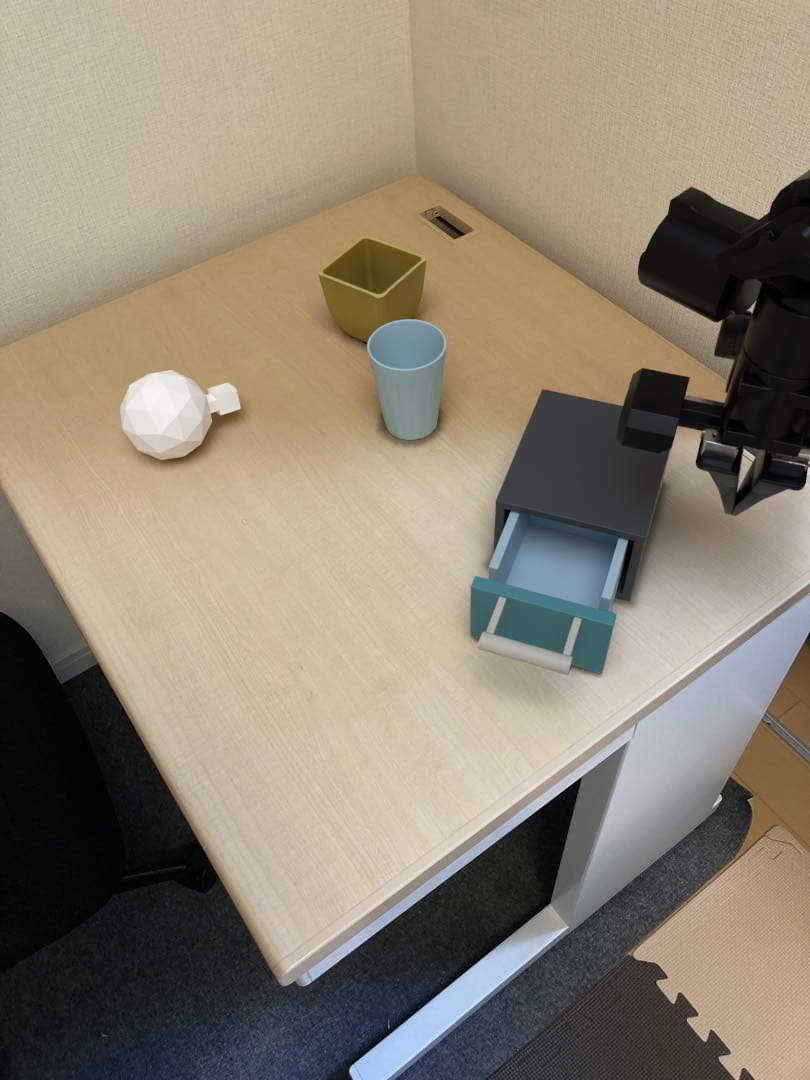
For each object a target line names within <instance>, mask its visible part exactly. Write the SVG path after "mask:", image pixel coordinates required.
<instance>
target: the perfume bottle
mask: <svg viewBox="0 0 810 1080" xmlns="http://www.w3.org/2000/svg"><path fill="white" fill-rule="evenodd" d="M237 389H238V388H237V387H235V386H234V385H232V384H231V383H229V382H224V383H221V384H217V385H215V386H212V387H208V388H207V392H208V393H207V394H205V393H204V391H203V390H202V389H201V387H200V386H199V385H198V383H197V382H196V381H195V380H194V379H193V378H189V377H188V376H187V375H183V374H181V373H179V372H177V371H176V370H173V369H169V370H161V371H157V372H150V373H147V374H146V375H143V376H142V377H140V378H139V379H136V381H134V382H132V383H130V384H129V386H128V387H127V391H126V393H125V396H124V397H123V400H122V402H121V404H120V406H119V413H120V419H121V427H122V430H123V432H124V433H125V435H126V436H127V437H128V439H129V440H130V442H131V443H132V444H133V446H134V447H135V448H136V450H137V451H139V452H141V453H144V454H145V455H148V456H150V457H153V458H155V459H157V460H159V461H163V460H170V459H177V458H182V457H183V458H184V457H187V455H189V454H190V453H191V452H193V451H194V450H196V449H197V448H198V447H199V446H201V445H202V443H203V441H204V440H205V437H206V435H207V433H208V431H209V430H210V428H211V425H212V423H213V419H212V418H213V417H212V414H213V413H215V412H216V413H217V414H218V416H223V415H226V414H230V413H233V412H235V411H239V410H240V409H242V407H241V403H240V398H239V394H238V390H237Z"/></svg>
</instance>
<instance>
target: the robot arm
mask: <svg viewBox="0 0 810 1080" xmlns="http://www.w3.org/2000/svg"><path fill="white" fill-rule="evenodd" d="M637 277H638V278H637V279H638V281H639V283H640V284H641V286H643V287H646V288H647V289H649V290H651V291H654V292H656V293H657V294H660V295H661V296H663V297H665V298H667V299H669V300H671V301H672V302H674V303H676V304H678V305H681V306H683V307H684V308H686V309H688V310H690V311H692V312H694V313H696V314H698V315H699V316H702V317H704V318H705V319H707V320H709V321H711V322H713V323H720V322H721V324H720V326H719V331H718V335H717V338H716V342H715V346H714V351H713V356H714V357H716V358H722V359H728V360H732V361H733V362H732V365H731V369H730V371H729V375H728V378H727V381H726V386H725V391H724V393H726V396H725V399H724V402H723V401H720V400H719V401H718V400H714V399H708V398H703V397H698V396H693V395H687V391H688V386H689V382H690V379H691V378H690V376H686V375H681V374H676V373H671V372H665V371H661V370H655V369H651V368H644V367H641V368H640V369H639V370H637V371H635V372H634V373H633V374H632V375H631V378H630V382H629V386H628V388H627V392H626V395H625V399H624V402H623V405H622V406H623V408H622V411H621V415H620V419H619V423H618V428H617V433H616V440H617V441H618V442H619V443H620V444H621V445H622V446H626V447H630V448H635V449H640V450H644V451H649V452H653V453H658V454H659V453H661V452H664V451H666V450H669V449H671V450H672V448H673V445H674V442H675V437H676V434H677V430H678V427H682V428H687V429H691V430H695V431H699V432H701V433H700V437H699V438H700V441H699V445H698V450H697V454H696V459H695V466H696V468H697V469H698V470H699V471H703V472H704V471H705V472H707V473H709V475H710V477H711V479H712V481H713V482H714V485H715V486H716V488H717V490H718V492H719V496H720V500H721V503H722V507H723V510H724V511H723V512H724V514H725V515H731V516H733V517H737V516H739V515H740V514H742V513H744V512H746V511H747V510H749V509H750V508H752V507H754V506H755V505H757V504H759V503H760V502H763V501H764V500H766V499H769V498H771V497H773V496H776V495H778V494H781V493H783V492H785V491H794V492H798V491H802V490H803V489H804V488H805V486H806V485H807V479H808V472H809V463H810V169H808V170H807V171H805V172H804V173H803V174H801V175H800V176H799V177H797V178H795V179H794V180H792V181H791V182H790V183H788V184H787V185H786V186H785V187H782V189H780V190H779V191H778V193H777V194H776V196H775V197H774V199H773V201H771V205H770V207H769V211H768V212H767V213H765V214H764V215H763V216H762V217H760V218H756V217H753V216H752V215H750V214H747V213H745V212H742V211H740V210H738V209H736V208H734V207H731V206H730V205H729V206H728V204H727V205H726V204H725V203H722V202H720V201H718V200H716V199H715V198H713V197H712V196H711V195H709V194H708V193H706V192H704V191H703V190H700V189H698V188H695V187H694V186H690V187H688V188H686V189H685V190H684V191H682V192H680V193H679V194H678V195H676V196H675V197H673V198H671V199H670V200H669V205H668V210H667V214H666V215H665V216H664V218H663V219H662V221H661V222H660V223H659V224H658V225H657V227H656V229H655V230H654V232H653V234H652V235H651V237H650V240H649V241H648V243H647V245H646V248H645V250H644V251H643V252H642V253H641V254H640V256H639V261H638V265H637ZM753 305H754V307H753ZM752 307H753V310H752V311H751V310H749V309H750V308H752ZM746 447H747V448H751V449H755V450H758V452H757V453H756V455H755V457H754V459H753V460H752V463H751V464H750V467H749V468H748V470H747V472H746V474H745V476H744V478H743V480H742V482H741V483H740V484H739V482H740V476H741V468H742V463H743V457H744V449H745V448H746Z"/></svg>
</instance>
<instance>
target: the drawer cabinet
mask: <svg viewBox="0 0 810 1080" xmlns="http://www.w3.org/2000/svg"><path fill="white" fill-rule="evenodd" d="M536 400H537V401H536V403H535V406H534V407H533V410H532V412H531V415H530V417H529V419H528V422H527V425H526V427H525V430H524V431H523V434H522V436H521V439H520V442H519V443H518V446H517V448H516V450H515V453H514V456H513V457H512V461H511V463H510V465H509V468H508V470H507V473H506V475H505V477H504V480H503V482H502V484H501V487H500V490H499V492H498V494H497V496H496V499H495V508H494V509H495V510H494V532H493V534H494V535H493V537H494V538H493V553H494V552H495V549H496V547H497V544H498V542H499V539H500V537H501V534H502V532H503V529H504V527H505V524H506V522H507V519H508V517H509V514H510V512H511V510H512V511H516V512H520V513H524V514H528V515H532V516H536V517H540V518H544V519H548V520H552V521H556V522H560V523H564V524H568V525H572V526H576V527H580V528H584V529H588V530H592V531H596V532H600V533H604V534H608V535H612V536H616V537H620V538H624V539H628V540H631V541H630V546H629V550H628V553H627V557H626V560H625V564H624V567H623V571H622V574H621V578H620V581H619V584H618V588H617V591H616V595H615V598H614V599H619V600H623V601H627V602H631V600H632V595H633V591H634V588H635V585H636V581H637V577H638V573H639V570H640V567H641V563H642V559H643V555H644V552H645V548H646V545H647V541H648V537H649V534H650V530H651V526H652V522H653V518H654V515H655V511H656V507H657V504H658V501H659V500H658V499H659V497H660V493H661V489H662V487H663V483H664V477H665V473H666V470H667V466H668V463H669V459H670V454H671V450H672V448H671V449H669V450H666V451H664V452H661V453H659V454H658V453H653V452H649V451H644V450H640V449H635V448H630V447H626V446H622V445H621V444H620V443H619V442H618V441H617V440H616V433H617V428H618V423H619V419H620V415H621V411H622V408H623V405H619V404H616V403H611V402H606V401H601V400H597V399H592V398H587V397H583V396H577V395H572V394H568V393H563V392H559V391H553V390H549V389H544V388H542V389H541V391H540V393H539V396H538V398H537V399H536Z"/></svg>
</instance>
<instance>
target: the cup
mask: <svg viewBox="0 0 810 1080" xmlns="http://www.w3.org/2000/svg"><path fill="white" fill-rule="evenodd" d="M447 345H448V343H447V338H446V336H445V333H444V332H443V330H441V329H440V328H439V327H438V326H436V325H435V324H433V323H431V322H428V321H425V320H421V319H416V318H415V319H414V318H413V319H404V320H397V321H393V322H390V323H387V324H385V325H383V326H381V327H379V328H378V329H377V330H375V331H374V332H373V333H372V335H371V336H370V338H369V340H368V343H367V342H366V350H367V355H368V359H369V362H370V363H369V364H370V368H371V371H372V375H373V379H374V383H375V388H376V392H377V396H378V400H379V405H380V408H381V413H382V416H383V421H384V425H385V427H386V429H387V431H388V432H389V433H390V434H391V435H392V436H393V437H396V438H397V439H400V440H404V441H415V440H421V439H423V438H425V437H428V436H429V435H430V434H431V435H432V433H433V432H434V430H435V429H436V428H437V425H438V420H439V419H438V418H439V413H440V412H439V411H440V405H441V404H440V403H441V394H442V385H443V377H444V369H445V368H444V367H445V362H446V355H447Z"/></svg>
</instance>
